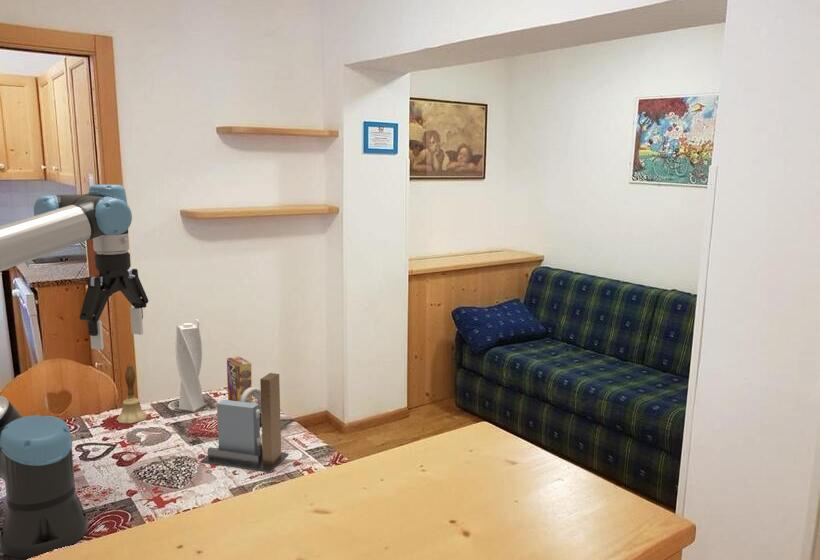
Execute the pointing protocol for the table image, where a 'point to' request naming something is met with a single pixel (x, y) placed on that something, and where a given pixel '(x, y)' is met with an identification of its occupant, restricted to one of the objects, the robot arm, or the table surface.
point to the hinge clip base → (270, 435)
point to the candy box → (238, 378)
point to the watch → (256, 394)
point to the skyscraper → (189, 366)
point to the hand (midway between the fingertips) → (118, 341)
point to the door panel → (239, 426)
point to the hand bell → (131, 402)
